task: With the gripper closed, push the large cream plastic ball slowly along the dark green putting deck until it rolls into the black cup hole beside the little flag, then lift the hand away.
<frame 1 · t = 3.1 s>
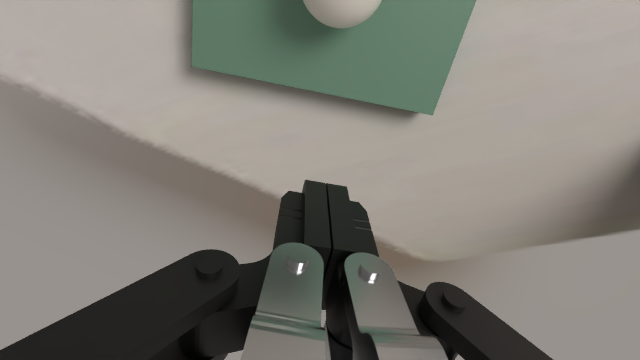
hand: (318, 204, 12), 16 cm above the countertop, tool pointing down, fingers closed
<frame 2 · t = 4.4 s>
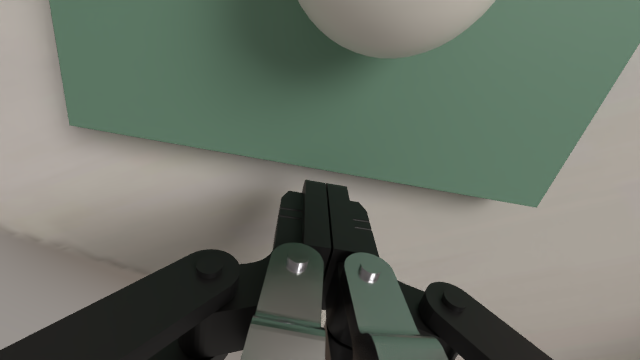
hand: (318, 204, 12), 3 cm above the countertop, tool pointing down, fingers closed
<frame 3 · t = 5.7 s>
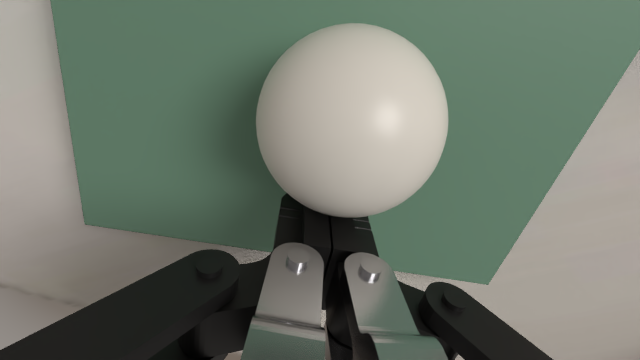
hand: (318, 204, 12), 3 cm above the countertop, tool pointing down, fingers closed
ball: (349, 125, 9), point 4 cm above the countertop, touching gripper, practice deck
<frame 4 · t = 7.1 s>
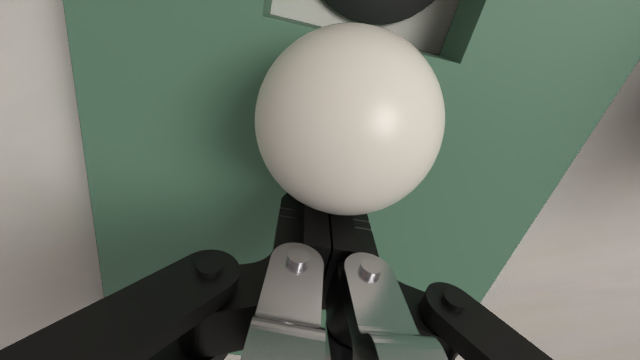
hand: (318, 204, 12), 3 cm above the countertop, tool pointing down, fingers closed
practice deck: (333, 129, 14), on the countertop
ball: (347, 123, 9), point 4 cm above the countertop, tilted 147°, touching gripper, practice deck
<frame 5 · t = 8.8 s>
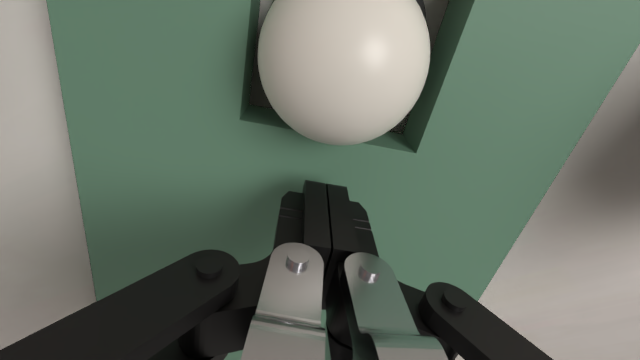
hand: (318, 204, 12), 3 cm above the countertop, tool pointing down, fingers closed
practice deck: (310, 196, 15), on the countertop
ball: (342, 61, 10), point 3 cm above the countertop, tilted 104°, touching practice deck
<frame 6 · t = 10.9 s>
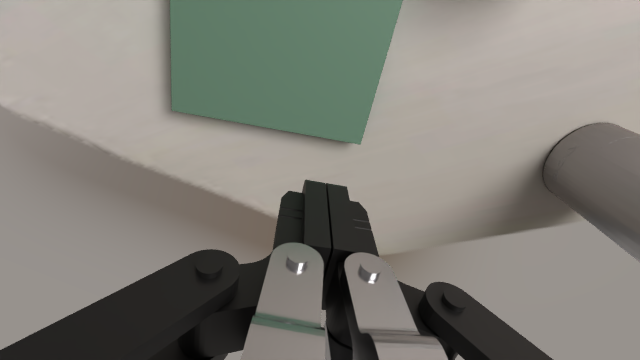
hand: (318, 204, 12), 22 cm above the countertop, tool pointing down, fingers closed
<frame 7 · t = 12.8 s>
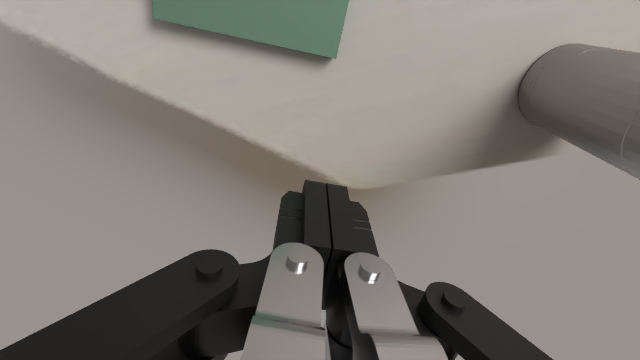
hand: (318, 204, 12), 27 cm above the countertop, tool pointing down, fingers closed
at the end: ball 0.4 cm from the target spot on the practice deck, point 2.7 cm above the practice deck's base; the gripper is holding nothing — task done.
